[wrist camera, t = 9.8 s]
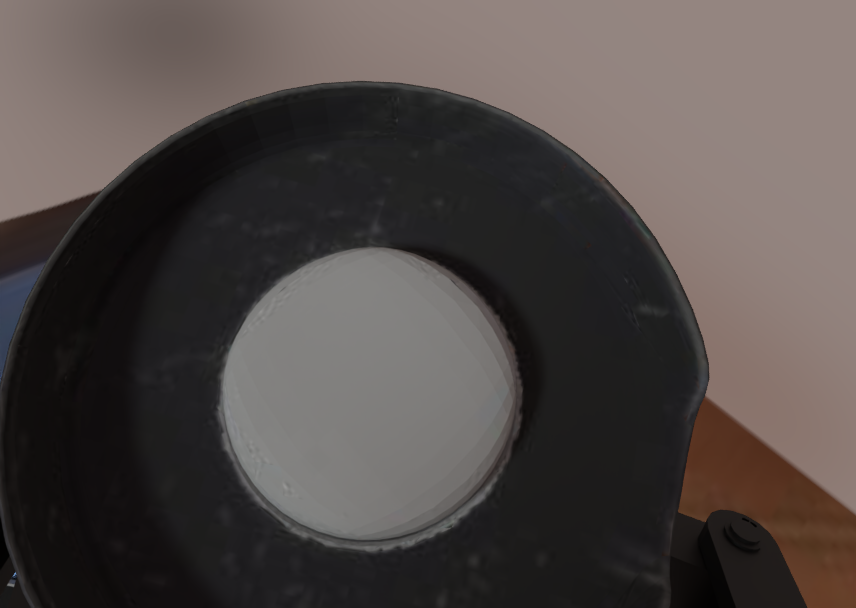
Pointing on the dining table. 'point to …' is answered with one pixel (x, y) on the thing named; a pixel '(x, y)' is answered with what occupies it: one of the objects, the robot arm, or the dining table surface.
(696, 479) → the dining table surface
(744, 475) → the dining table surface
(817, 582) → the dining table surface
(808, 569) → the dining table surface
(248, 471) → the travel mug
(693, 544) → the robot arm
